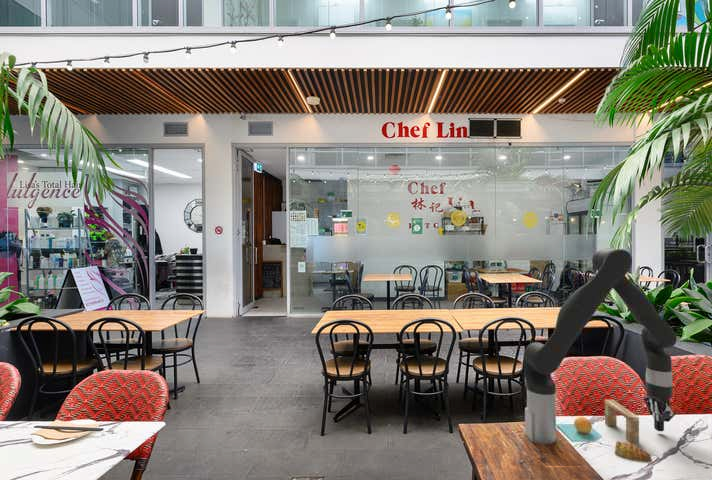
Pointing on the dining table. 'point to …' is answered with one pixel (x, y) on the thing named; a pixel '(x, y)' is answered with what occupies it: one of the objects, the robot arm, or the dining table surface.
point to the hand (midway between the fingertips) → (659, 430)
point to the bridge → (631, 418)
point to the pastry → (631, 452)
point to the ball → (582, 425)
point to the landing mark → (578, 433)
